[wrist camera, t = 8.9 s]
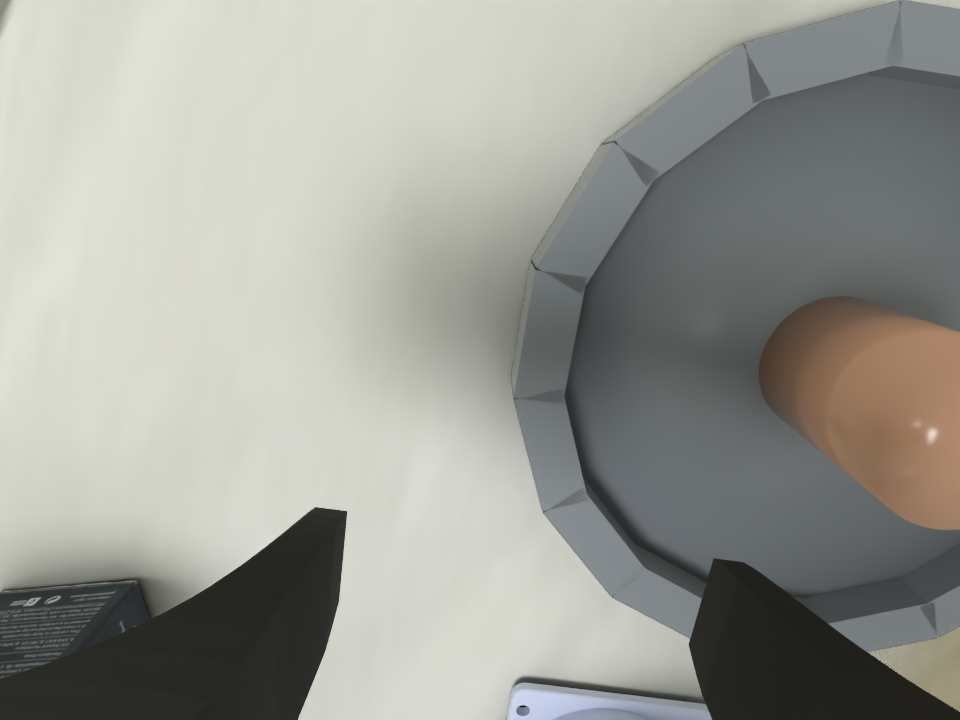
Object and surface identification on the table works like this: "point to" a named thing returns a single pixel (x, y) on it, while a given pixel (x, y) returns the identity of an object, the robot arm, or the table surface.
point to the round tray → (746, 322)
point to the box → (64, 621)
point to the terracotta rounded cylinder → (874, 400)
